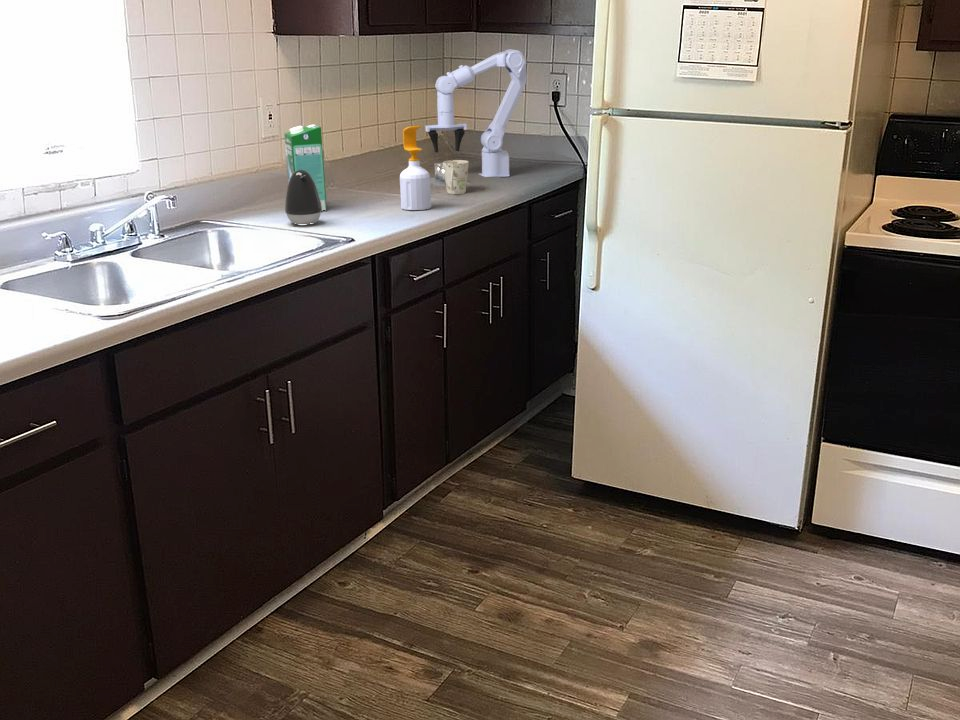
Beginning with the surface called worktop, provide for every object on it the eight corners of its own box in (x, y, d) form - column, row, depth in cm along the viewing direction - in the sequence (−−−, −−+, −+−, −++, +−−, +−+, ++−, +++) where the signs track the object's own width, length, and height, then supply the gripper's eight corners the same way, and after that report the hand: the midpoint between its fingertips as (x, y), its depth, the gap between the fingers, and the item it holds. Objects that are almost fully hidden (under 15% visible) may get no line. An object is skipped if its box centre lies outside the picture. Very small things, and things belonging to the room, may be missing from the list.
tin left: (445, 176, 346) (445, 162, 344) (449, 178, 342) (448, 164, 340) (433, 177, 345) (432, 163, 343) (436, 179, 341) (436, 164, 339)
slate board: (455, 177, 348) (455, 176, 347) (470, 185, 331) (470, 183, 331) (423, 180, 344) (423, 178, 344) (436, 188, 328) (436, 186, 328)
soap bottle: (408, 212, 289) (404, 127, 281) (396, 207, 297) (392, 125, 289) (435, 209, 293) (433, 125, 285) (423, 204, 301) (420, 123, 293)
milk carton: (290, 209, 298) (283, 125, 289) (319, 206, 301) (313, 123, 293) (297, 214, 290) (290, 128, 282) (327, 211, 293) (321, 126, 285)
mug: (470, 190, 323) (469, 160, 319) (466, 197, 311) (465, 165, 308) (445, 190, 324) (444, 160, 320) (440, 197, 312) (439, 165, 308)
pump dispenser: (291, 229, 270) (286, 173, 265) (282, 222, 279) (278, 168, 274) (327, 225, 274) (323, 170, 269) (317, 218, 283) (313, 166, 278)
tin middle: (450, 179, 341) (450, 164, 339) (453, 181, 337) (453, 166, 335) (437, 180, 340) (437, 165, 338) (440, 182, 336) (440, 167, 334)
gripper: (462, 109, 345) (463, 148, 349) (422, 111, 341) (424, 151, 345) (468, 111, 338) (469, 151, 343) (427, 113, 334) (429, 153, 339)
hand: (446, 151), depth 344 cm, fingers open, 7 cm apart
